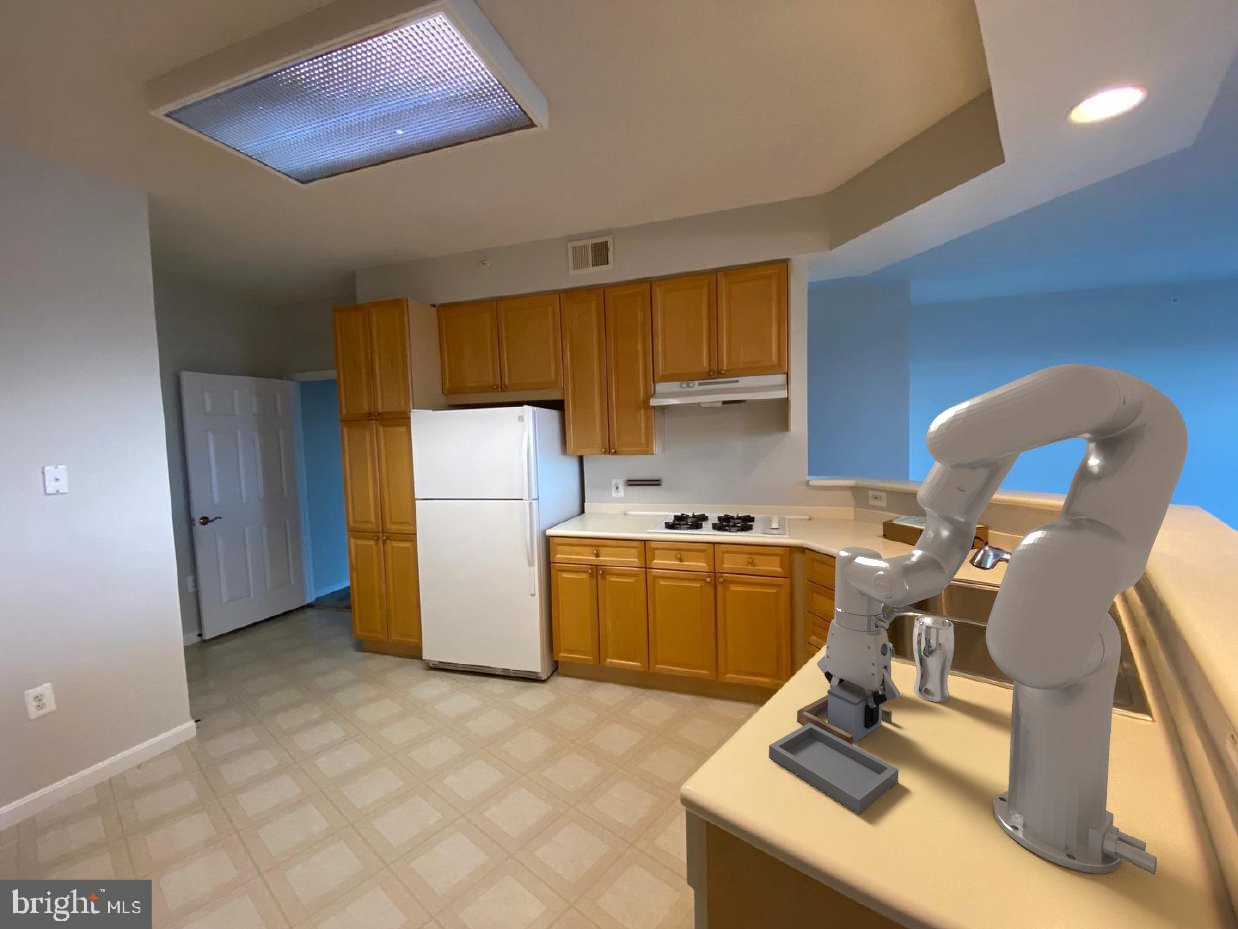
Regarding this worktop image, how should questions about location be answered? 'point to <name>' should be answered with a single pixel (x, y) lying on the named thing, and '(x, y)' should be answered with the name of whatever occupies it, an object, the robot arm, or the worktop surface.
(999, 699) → the worktop surface
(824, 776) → the tray
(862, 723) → the caddy
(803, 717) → the frame
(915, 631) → the beer glass
